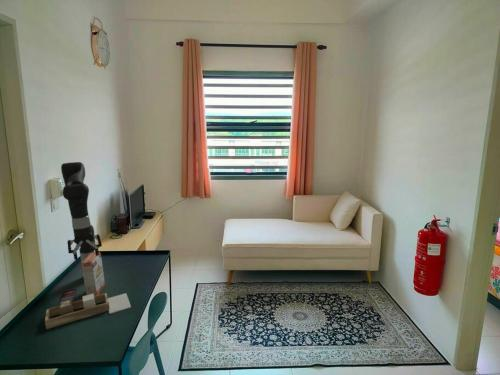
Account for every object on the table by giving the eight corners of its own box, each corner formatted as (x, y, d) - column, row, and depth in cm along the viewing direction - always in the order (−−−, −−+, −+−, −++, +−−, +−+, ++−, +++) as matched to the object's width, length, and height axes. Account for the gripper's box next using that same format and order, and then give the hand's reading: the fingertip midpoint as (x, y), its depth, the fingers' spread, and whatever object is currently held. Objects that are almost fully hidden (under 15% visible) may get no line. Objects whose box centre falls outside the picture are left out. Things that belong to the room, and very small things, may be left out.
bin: (48, 316, 152) (46, 309, 152) (107, 299, 165) (106, 292, 164) (46, 329, 142) (44, 321, 141) (109, 310, 155) (108, 302, 154)
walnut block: (62, 315, 153) (59, 302, 151) (73, 312, 155) (71, 299, 154) (61, 321, 147) (59, 308, 146) (73, 318, 150) (71, 304, 149)
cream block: (84, 309, 157) (82, 296, 156) (95, 305, 160) (93, 293, 159) (85, 314, 152) (82, 301, 151) (96, 311, 155) (94, 298, 153)
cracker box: (98, 297, 168) (92, 261, 164) (86, 299, 167) (80, 262, 163) (106, 285, 181) (100, 251, 178) (95, 286, 181) (89, 252, 177)
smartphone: (77, 288, 178) (73, 301, 165) (77, 290, 178) (74, 302, 165) (62, 292, 176) (58, 305, 162) (63, 293, 176) (58, 306, 162)
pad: (106, 299, 165) (106, 298, 165) (126, 294, 170) (126, 293, 170) (109, 314, 151) (109, 313, 151) (131, 307, 156) (130, 306, 156)
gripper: (97, 221, 153) (102, 251, 156) (64, 227, 146) (70, 259, 149) (98, 224, 147) (103, 256, 150) (64, 231, 140) (70, 264, 143)
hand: (87, 257), depth 150 cm, fingers open, 8 cm apart
